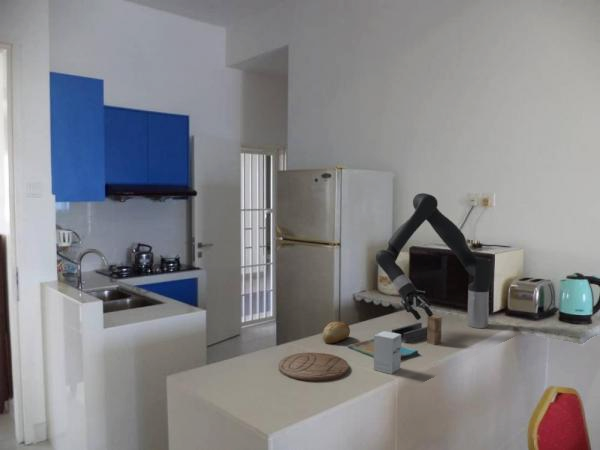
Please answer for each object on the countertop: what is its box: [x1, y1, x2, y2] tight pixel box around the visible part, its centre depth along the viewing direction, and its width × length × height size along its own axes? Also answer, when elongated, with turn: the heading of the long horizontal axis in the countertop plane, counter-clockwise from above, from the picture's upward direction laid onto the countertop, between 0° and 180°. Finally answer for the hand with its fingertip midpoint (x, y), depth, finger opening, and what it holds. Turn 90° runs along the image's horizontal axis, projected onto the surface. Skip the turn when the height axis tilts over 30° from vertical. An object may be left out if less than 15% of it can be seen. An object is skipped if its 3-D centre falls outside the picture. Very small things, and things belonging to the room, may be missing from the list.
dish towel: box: [347, 338, 420, 361], centre depth 187 cm, size 17×23×2 cm
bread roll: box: [322, 321, 351, 344], centre depth 201 cm, size 10×15×8 cm, turn 141°
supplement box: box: [373, 330, 402, 375], centre depth 167 cm, size 7×7×13 cm
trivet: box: [278, 352, 350, 383], centre depth 167 cm, size 25×25×2 cm
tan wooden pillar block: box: [426, 315, 443, 346], centre depth 198 cm, size 5×4×11 cm
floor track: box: [391, 322, 427, 344], centre depth 207 cm, size 20×8×4 cm, turn 129°
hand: (425, 317), depth 201 cm, fingers open, 8 cm apart
